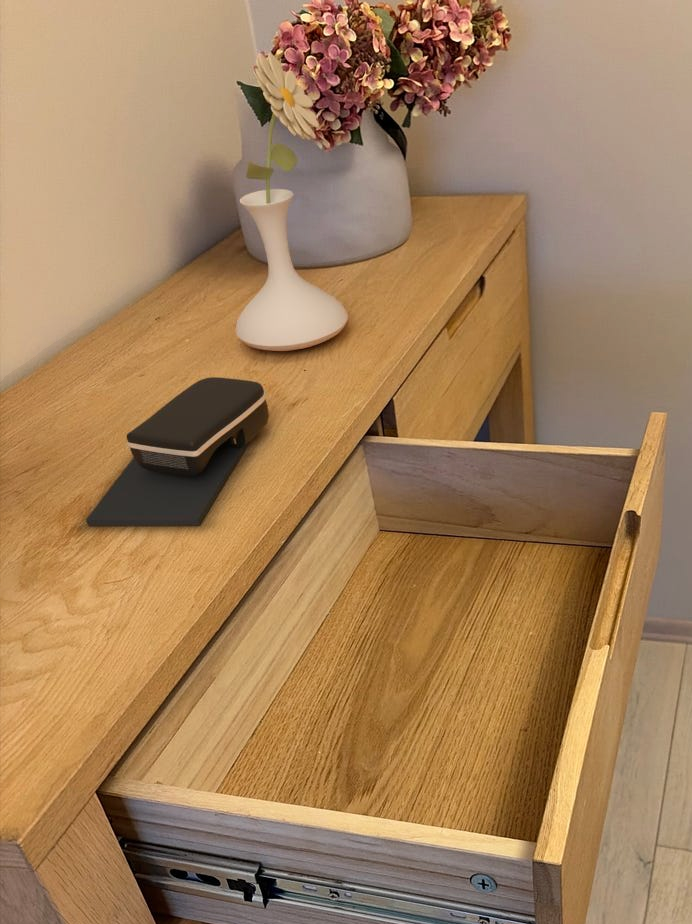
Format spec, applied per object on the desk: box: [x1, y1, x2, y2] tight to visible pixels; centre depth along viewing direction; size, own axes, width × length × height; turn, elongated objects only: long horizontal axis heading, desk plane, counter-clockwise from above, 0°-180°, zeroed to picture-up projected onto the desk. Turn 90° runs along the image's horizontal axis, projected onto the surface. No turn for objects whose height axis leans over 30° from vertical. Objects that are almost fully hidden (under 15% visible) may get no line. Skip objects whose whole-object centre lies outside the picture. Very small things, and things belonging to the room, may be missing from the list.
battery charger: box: [125, 376, 270, 477], centre depth 81 cm, size 7×4×11 cm
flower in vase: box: [235, 52, 349, 352], centre depth 93 cm, size 13×11×25 cm
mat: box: [85, 441, 251, 527], centre depth 79 cm, size 9×13×1 cm
